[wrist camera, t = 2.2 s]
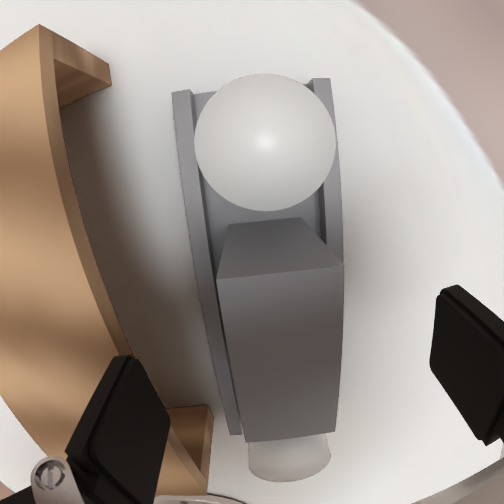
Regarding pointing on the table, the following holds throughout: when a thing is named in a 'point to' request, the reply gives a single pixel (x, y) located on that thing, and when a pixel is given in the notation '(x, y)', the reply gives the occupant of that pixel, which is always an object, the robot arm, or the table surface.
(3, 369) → the curved wooden channel
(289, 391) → the grey elongated piece
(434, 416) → the table surface
